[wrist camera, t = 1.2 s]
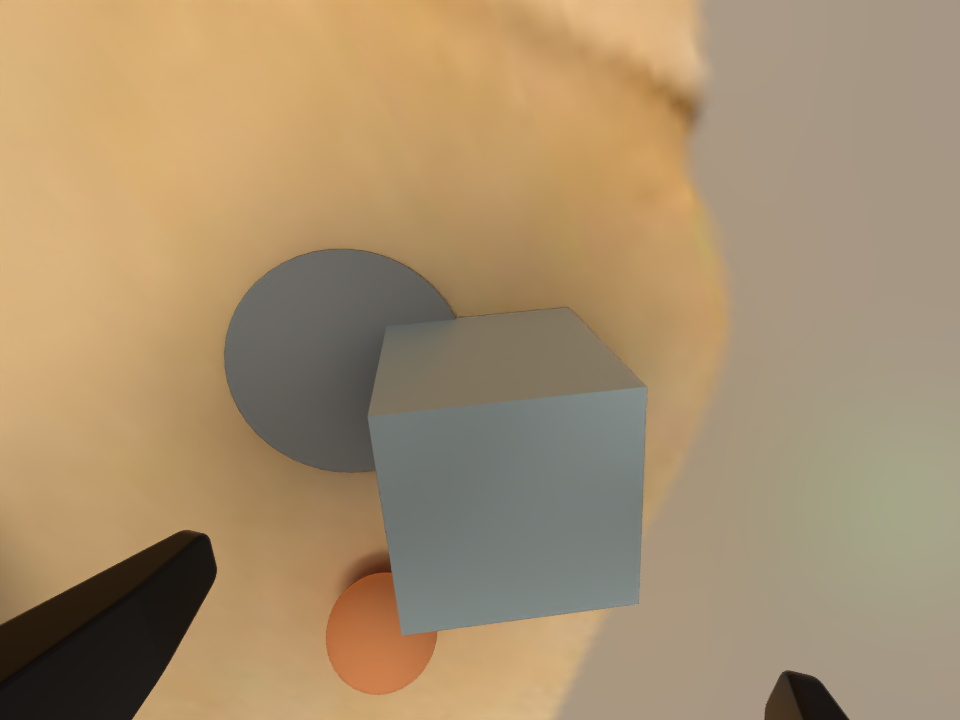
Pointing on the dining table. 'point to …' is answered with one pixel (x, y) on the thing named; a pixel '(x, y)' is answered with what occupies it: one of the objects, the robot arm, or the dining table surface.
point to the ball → (374, 639)
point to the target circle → (321, 351)
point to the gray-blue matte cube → (507, 469)
